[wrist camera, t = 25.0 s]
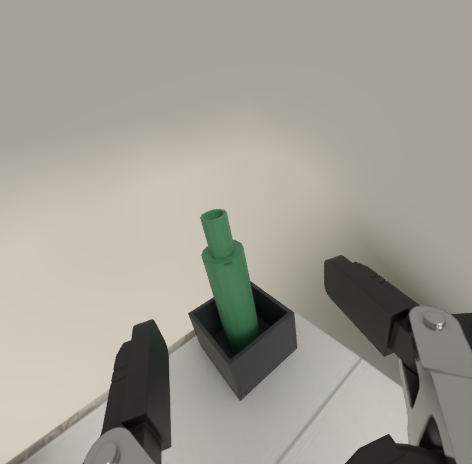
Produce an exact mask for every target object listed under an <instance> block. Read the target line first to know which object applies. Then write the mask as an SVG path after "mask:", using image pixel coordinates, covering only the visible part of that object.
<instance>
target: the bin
mask: <svg viewBox="0 0 472 464" xmlns="http://www.w3.org/2000/svg"><path fill="white" fill-rule="evenodd" d="M250 284H251V289H252V294H253V299H254V304H255V309H256V314H257V319H258V324H259V330H260V336H259V337H258V338H256V339H255V340H254V341H253V342H251V343H250V344H249V345H248V346H246V347H245V348H244V349H243V350H242V351H240V352H239V353H238V354H237V355H235V356H234V355H233V354H232V353H231V351H230V348H229V345H228V342H227V338H226V335H225V332H224V328H223V325H222V322H221V319H220V315H219V312H218V309H217V305H216V302H215V299H214V297H213V298H212V299H210V300H209V301H207V302H205V303H204V304H202V305H201V306H200V307H198V308H196V309H195V310H193V311H191V312H190V313H188V314H189V317H190V319H191V322H192V325H193V327H194V330H195V332H196V335H197V337H198V340H199V343H200V345H201V347H202V348H203V350H204V351H205V352H206V354H207V355H208V356H209V358H210V359H211V361H212V362H213V363H214V365H215V366H216V368H217V369H218V370H219V372H220V373H221V375H222V376H223V377H224V379H225V380H226V381H227V383H228V384H229V386H230V387H231V388H232V390H233V391H234V393H235V394H236V395H237V397H238V398H239V399H240V400H242V399H243V398H244V397H245V396H246V395H247V394H248V393H249V392H250V391H251V390H252V389H253V388H255V387H256V386H257V385H258V384H259V383H260V382H261V381H262V380H263V379H264V378H265V377H266V376H267V375H269V374H270V373H271V372H272V371H273V370H274V369H275V368H276V367H277V366H278V365H279V364H280V363H281V362H283V361H284V360H285V359H286V358H287V357H288V356H289V355H290V354H291V353H292V352H293V351H294V350H295V349H297V340H296V328H295V317H294V312H293V311H291V310H290V309H288V308H287V307H286V306H284V305H283V304H281V303H280V302H279V301H277V300H276V299H275V298H273V297H272V296H270V295H269V294H268V293H266V292H265V291H263V290H262V289H261V288H259V287H258V286H256V285H255V284H254V283H252V282H251V281H250Z"/></svg>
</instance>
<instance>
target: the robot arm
mask: <svg viewBox="0 0 472 464" xmlns="http://www.w3.org/2000/svg"><path fill="white" fill-rule="evenodd" d="M324 285H325V289H326V292H327V294H328V296H329V297H330V298H331V299H332V300H333V301H334V302H335V304H336V305H337V306H338V307H339V308H340V309H341V310H342V311H343V312H344V314H346V316H347V317H348V318H349V319H350V320H351V321H352V322H353V323H354V324H355V326H356V327H357V328H358V329H359V330H360V331H361V332H362V333H363V334H364V335H365V336H366V338H367V339H368V340H369V341H370V342H371V343H372V344H373V345H374V346H375V347H376V349H378V351H379V352H380V353H381V354H382V355H383V356H384V357H385V356H387V355H389V354H392V353H395V354H396V355H397V356H398V357H399V368H400V374H401V380H402V385H403V391H404V397H405V402H406V408H407V415H408V425H407V430H408V442H409V444H399V443H395V442H394V440H393V439H392V437H391V436H390V435H389V434H388V435H385V436H383V437H381V438H379V439H377V440H375V441H373V442H371V443H369V444H367V445H365V446H363V447H361V448H359V449H358V450H357V451H356V452H355V453H354V455H353V456H352V457H351V458H350V459H349V460H348V461H347V462H346V463H345V464H472V313H462V314H450V313H448V312H446V311H444V310H442V309H439V308H437V307H433V306H426V305H423V306H420V305H419V304H417V303H416V302H414V301H413V300H412V299H411V298H409V297H408V296H406V295H405V294H404V293H402V292H401V291H400V290H398V289H397V288H396V287H394V286H393V285H392V284H390V283H389V282H388V281H387V282H386V281H385V279H383V278H382V277H381V276H380V275H379V276H378V275H377V273H376V272H374V271H373V270H372V269H370V268H369V267H367V266H365V265H362V264H360V263H357V262H354V263H352V262H350V261H349V260H348V259H346V258H345V257H344V256H342V255H339V256H337V257H334V258H331V259H328V260H326V261H325V263H324ZM111 381H112V384H111V386H110V391H109V396H108V402H107V407H106V412H105V418H104V423H103V428H102V432H101V435H100V438H99V439H98V440H97V441H96V442H95V443H94V444H93V445H92V447H91V448H90V450H89V452H88V453H87V455H86V457H85V460H84V462H83V464H161V451H163V450H165V449H168V448H170V447H171V419H170V385H169V355H168V349H167V346H166V343H165V340H164V338H163V336H162V335H161V333H160V331H159V329H158V327H157V325H156V323H155V321H154V320H153V319H152V320H148V321H146V322H143V323H140V324H137V325H135V326H134V327H133V332H132V340H131V341H128V342H125V343H123V345H122V347H121V348H120V350H119V352H118V354H117V356H116V359H115V364H114V372H113V375H112V380H111Z"/></svg>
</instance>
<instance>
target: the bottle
mask: <svg viewBox="0 0 472 464" xmlns="http://www.w3.org/2000/svg"><path fill="white" fill-rule="evenodd" d="M200 219H201V222H202V226H203V230H204V233H205V237H206V240H207V243H208V247H206V248H205V249H204V250H203V253H202V259H203V262H204V265H205V269H206V272H207V276H208V279H209V282H210V286H211V288H212V292H213V295H214V299H215V302H216V305H217V309H218V312H219V315H220V319H221V322H222V325H223V328H224V332H225V335H226V338H227V342H228V345H229V348H230V351H231V353H232V354H233V355H234V356H235V355H237V354H238V353H239V352H240V351H242V350H243V349H244V348H245V347H246V346H248V345H249V344H250V343H251V342H253V341H254V340H255V339H256V338H258V337H259V336H260V330H259V324H258V319H257V314H256V309H255V304H254V299H253V294H252V289H251V284H250V279H249V274H248V269H247V264H246V258H245V253H244V248H243V246H242V244H241V243H240V242H238V241H236V240H233V239H232V235H231V230H230V226H229V221H228V216H227V212H226V211H225V210H222V209H214V210H211V211H208V212H205V213H204V214H202V215H201V217H200Z"/></svg>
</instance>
